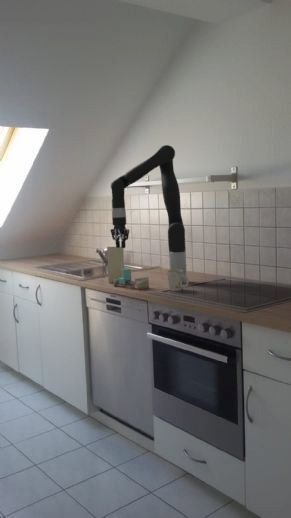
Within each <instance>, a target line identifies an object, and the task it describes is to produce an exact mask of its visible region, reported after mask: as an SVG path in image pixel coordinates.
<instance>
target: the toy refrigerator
mask: <svg viewBox="0 0 291 518" xmlns="http://www.w3.org/2000/svg"><path fill="white" fill-rule="evenodd" d="M124 249H125V248H122V247H121V244H120V247H119V248H116V244H115V245H107V247H106V251H107V252H106V254H107V275H108V276H107V277H108V284H114V281H113V280H115V279H118V278H123V270H125V256H124V255H125V254H124V253H125V251H124Z"/></svg>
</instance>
